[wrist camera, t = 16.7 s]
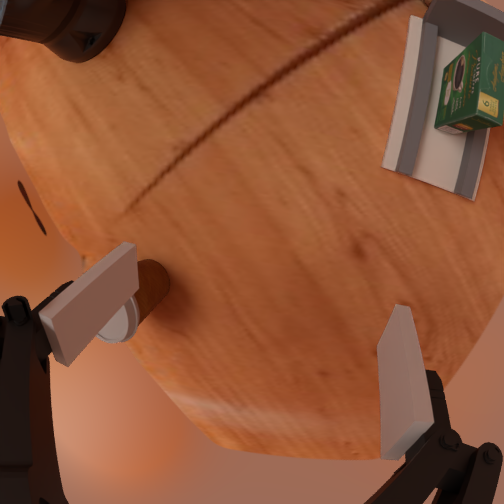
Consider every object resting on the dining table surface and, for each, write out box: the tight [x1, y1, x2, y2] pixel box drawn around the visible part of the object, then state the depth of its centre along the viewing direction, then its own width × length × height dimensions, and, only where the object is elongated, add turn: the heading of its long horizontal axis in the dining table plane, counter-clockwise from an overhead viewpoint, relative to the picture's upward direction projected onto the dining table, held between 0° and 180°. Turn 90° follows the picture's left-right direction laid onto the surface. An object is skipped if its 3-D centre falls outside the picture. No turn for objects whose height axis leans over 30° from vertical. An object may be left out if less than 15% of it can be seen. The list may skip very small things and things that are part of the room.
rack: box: [381, 0, 504, 201], centre depth 25 cm, size 12×20×11 cm, turn 167°
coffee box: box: [434, 32, 504, 134], centre depth 22 cm, size 8×3×13 cm, turn 167°
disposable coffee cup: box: [96, 259, 170, 343], centre depth 41 cm, size 10×10×12 cm
